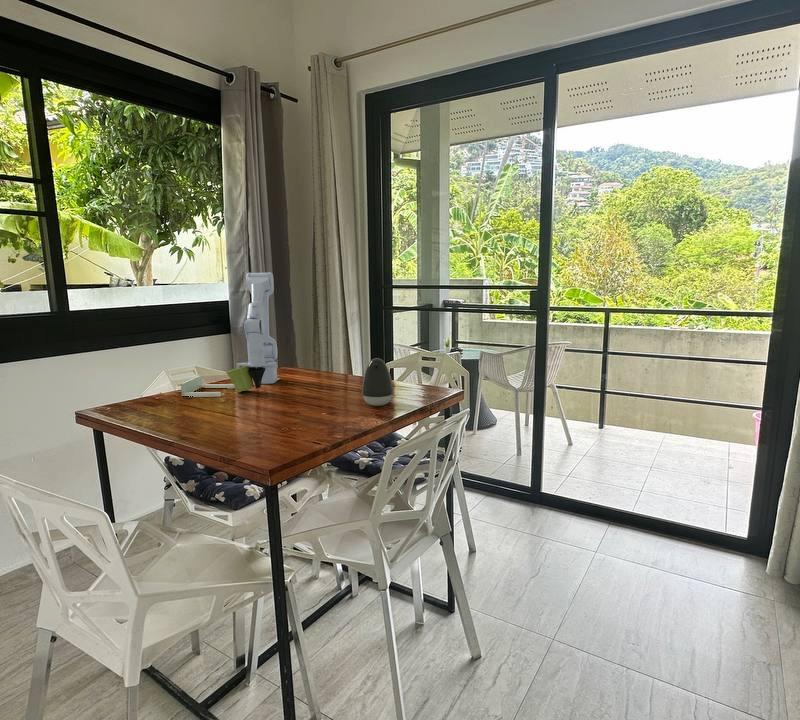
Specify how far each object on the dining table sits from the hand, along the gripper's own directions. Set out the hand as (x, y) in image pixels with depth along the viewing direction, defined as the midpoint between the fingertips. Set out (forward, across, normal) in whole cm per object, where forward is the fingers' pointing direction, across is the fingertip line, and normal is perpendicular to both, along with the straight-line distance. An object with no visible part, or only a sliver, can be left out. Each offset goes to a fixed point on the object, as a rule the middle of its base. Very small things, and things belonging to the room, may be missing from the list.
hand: (258, 387), depth 189 cm
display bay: (+2, -18, 0) cm, 18 cm away
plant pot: (+1, -5, 0) cm, 5 cm away
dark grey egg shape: (+2, +46, -21) cm, 51 cm away
